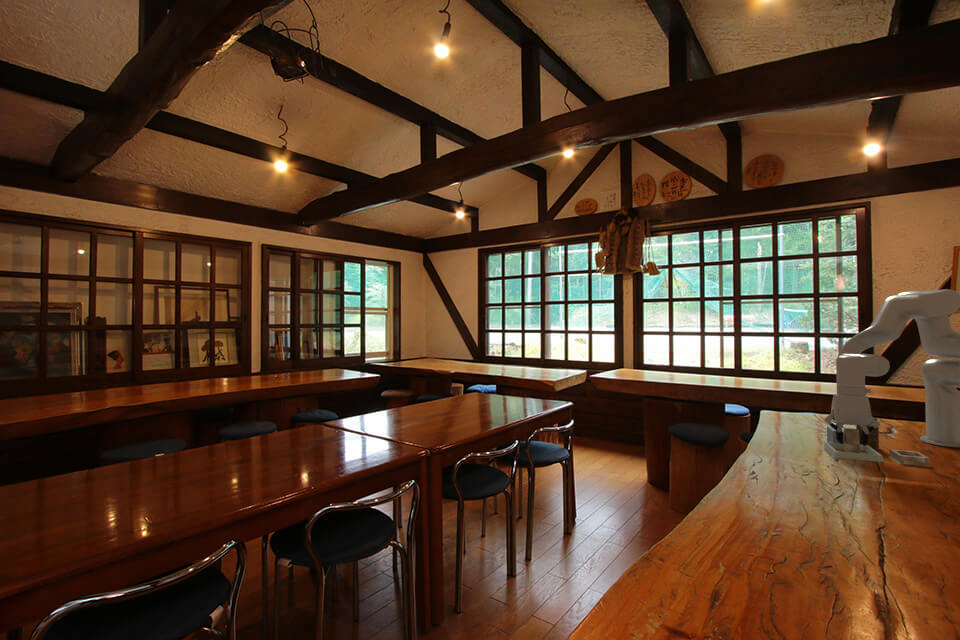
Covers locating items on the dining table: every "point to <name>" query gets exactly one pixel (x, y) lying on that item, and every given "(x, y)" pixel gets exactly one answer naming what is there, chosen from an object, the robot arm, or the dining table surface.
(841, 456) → the tray
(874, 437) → the condiment
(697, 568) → the dining table surface
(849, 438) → the dowel
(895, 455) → the socket block
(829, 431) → the block
